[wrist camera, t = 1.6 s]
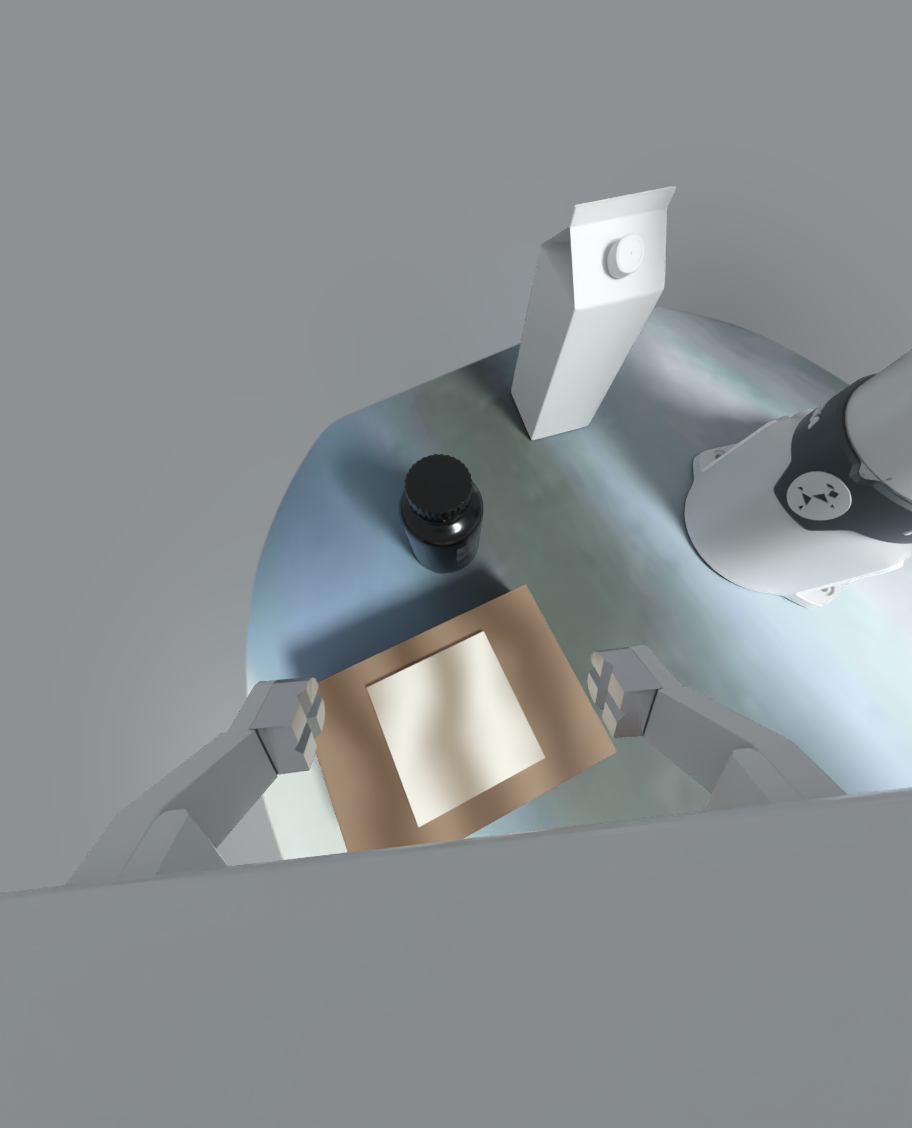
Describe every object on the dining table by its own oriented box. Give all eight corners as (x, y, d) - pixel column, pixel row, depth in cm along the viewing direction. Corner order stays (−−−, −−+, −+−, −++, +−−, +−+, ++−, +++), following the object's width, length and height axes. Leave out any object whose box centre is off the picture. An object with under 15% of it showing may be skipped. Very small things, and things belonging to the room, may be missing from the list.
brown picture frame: (515, 596, 34) (526, 583, 29) (591, 738, 30) (618, 752, 25) (321, 688, 31) (295, 692, 26) (377, 856, 27) (360, 898, 22)
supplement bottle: (468, 506, 36) (474, 432, 25) (485, 566, 35) (501, 515, 23) (405, 521, 36) (382, 452, 24) (419, 582, 34) (401, 538, 23)
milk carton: (509, 393, 41) (554, 173, 23) (565, 379, 41) (651, 154, 23) (530, 441, 39) (597, 243, 21) (588, 427, 40) (702, 221, 21)
